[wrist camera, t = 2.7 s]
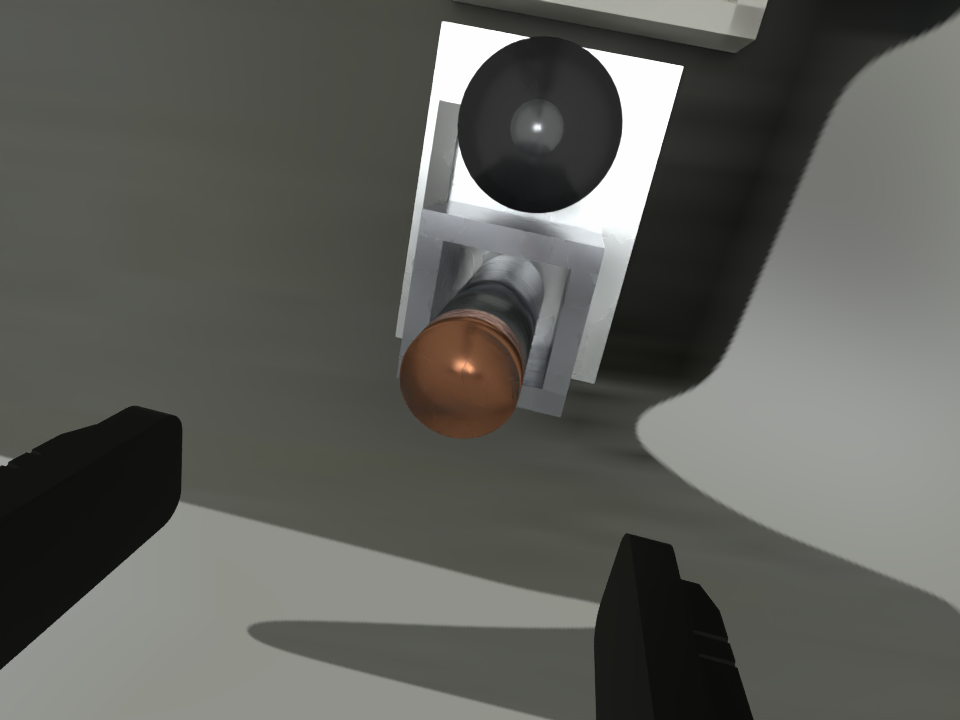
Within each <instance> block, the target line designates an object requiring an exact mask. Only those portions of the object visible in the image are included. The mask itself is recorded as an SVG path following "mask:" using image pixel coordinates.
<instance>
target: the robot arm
mask: <svg viewBox="0 0 960 720" xmlns="http://www.w3.org/2000/svg"><path fill="white" fill-rule="evenodd" d="M181 473H182V424H181V421H180V419H179V418H178V417H177V416H174V415H171V414H167V413H163V412H159V411H155V410H151V409H147V408H143V407H140V406H130V407H128V408H126V409H124V410H122V411H120V412H119V413H117V414H115V415H113V416H111V417H109V418H108V419H106V420H104V421H102V422H100V423H98V424H97V425H96V424H95V425H92V426H88V427H85V428H81V429H78V430H74V431H71V432H67V433H64V434H61V435H59V436H57V437H55V438H53V439H51V440H49V441H47V442H45V443H43V444H42V445H40V446H38V447H36V448H34V449H32V452H31V453H27V452H26V453H25V454H23V455H21V456H19V457H17V458H15V459H13V460H11V461H9V462H8V465H7V466H0V670H1V669H2V668H3V667H4V666H5V665H6V664H7V663H9V662H10V661H11V660H12V659H13V658H14V657H15V656H17V655H18V654H19V653H20V652H21V651H22V650H23V649H25V648H26V647H27V646H28V645H29V644H30V643H31V642H33V641H34V640H35V639H36V638H37V637H38V636H39V635H40V634H42V633H43V632H44V631H45V630H46V629H47V628H48V627H50V625H52V624H53V623H54V622H55V621H56V620H57V619H59V618H60V617H61V616H62V615H63V614H64V613H65V612H67V611H68V610H69V609H70V608H71V607H72V606H73V605H74V604H76V603H77V602H78V601H79V600H80V599H81V598H82V597H84V596H85V595H86V594H87V593H88V592H89V591H90V590H92V589H93V588H94V587H95V586H96V585H97V584H98V583H99V582H101V581H102V580H103V579H104V578H105V577H106V576H107V575H109V574H110V573H111V572H112V571H113V570H114V569H115V568H116V567H118V566H119V565H120V564H121V563H122V562H123V561H124V560H126V559H127V558H128V557H129V556H130V555H131V554H132V553H134V552H135V551H136V550H137V549H138V548H139V547H140V546H142V545H143V544H144V543H145V542H146V541H147V540H148V539H149V538H151V537H152V536H153V535H154V534H155V533H156V532H157V531H159V530H160V529H161V528H162V527H163V526H164V525H165V524H166V523H167V522H168V520H169V519H170V518H171V516H172V515H173V513H174V512H175V509H176V507H177V505H178V502H179V499H180V495H181ZM594 661H595V694H596V720H753V716H752V713H751V710H750V707H749V704H748V700H747V697H746V694H745V691H744V688H743V684H742V681H741V678H740V675H739V671H738V668H737V667H735V659H734V655H733V652H732V649H731V646H730V644H729V643H728V636H727V633H726V630H725V626H724V623H723V620H722V617H721V614H720V611H719V609H718V608H717V607H716V605H715V604H714V603H713V601H712V600H711V599H710V597H709V596H708V595H707V593H706V592H705V591H704V590H703V588H702V587H701V586H700V584H697V583H693V582H689V581H686V580H682V579H681V578H680V574H679V570H678V566H677V562H676V557H675V553H674V550H673V547H672V545H670V544H667V543H663V542H659V541H655V540H651V539H647V538H643V537H639V536H636V535H632V534H628V533H626V534H625V535H624V537H623V538H622V541H621V543H620V546H619V549H618V552H617V555H616V558H615V561H614V564H613V567H612V570H611V573H610V576H609V579H608V582H607V585H606V588H605V591H604V594H603V597H602V600H601V603H600V607H599V611H598V615H597V620H596V626H595V635H594Z"/></svg>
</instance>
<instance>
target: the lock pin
mask: <svg viewBox="0 0 960 720" xmlns="http://www.w3.org/2000/svg"><path fill="white" fill-rule="evenodd" d="M543 299H544V283H543V280H542V277H541V275H540V273H539V271H538V270H537V269H536V268H535V266H534V265H533V264H531V263H530V262H529V261H527V260H526V259H524V258H520V257H515V256H511V255H500V256H496V257H494V258H492V259H490V260H488V261H487V262H485V263H484V264H483V265H482V266H481V267H480V268H479V269H478V270H477V272H476V273H475V274H474V275H473V276H472V277H471V278H470V279H469V280H468V282H467V283H466V284H465V285H464V286H463V287H462V288H461V289H460V290H459V292H458V293H457V294H456V295H455V296H454V297H453V298H452V299H451V300H450V302H449V303H448V304H447V305H446V306H445V307H444V308H443V309H442V310H441V312H440V313H439V314H438V315H437V316H436V317H435V318H434V319H433V320H432V321H431V322H430V323H429V324H428V325H427V326H426V327H425V328H424V329H423V331H422V332H421V333H420V334H419V335H418V336H417V337H416V338H415V339H414V340H413V342H412V343H411V344H410V346H409V347H408V348H407V350H406V352H405V354H404V356H403V359H402V361H401V366H400V373H399V380H400V388H401V392H402V395H403V398H404V400H405V402H406V404H407V406H408V408H409V409H410V411H411V412H412V413H413V414H414V416H415V417H416V418H417V419H418V420H419V421H420V422H421V423H423V424H424V425H425V426H427V427H428V428H430V429H431V430H433V431H435V432H437V433H439V434H442V435H445V436H448V437H453V438H463V439H464V438H475V437H480V436H483V435H486V434H488V433H491V432H493V431H494V430H496V429H497V428H499V427H500V426H501V425H503V424H504V423H505V422H506V421H507V420H508V419H509V417H510V416H511V414H512V413H513V411H514V410H515V407H516V405H517V403H518V400H519V396H520V392H521V388H522V384H523V380H524V376H525V370H526V366H527V362H528V358H529V354H530V350H531V346H532V342H533V338H534V334H535V331H536V327H537V323H538V319H539V315H540V311H541V307H542V303H543Z"/></svg>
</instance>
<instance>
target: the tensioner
mask: <svg viewBox="0 0 960 720" xmlns="http://www.w3.org/2000/svg"><path fill="white" fill-rule="evenodd" d="M683 67H684V66H678V65H673V64H668V63H662V62H657V61H652V60H647V59H641V58H636V57H631V56H625V55H620V54H615V53H609V52H604V51H599V50H594V49H588V48H583V47H581V46H579V45H577V44H575V43H573V42H570V41H568V40H564V39H560V38H556V37H547V36H545V37H531V38H530V37H525V36H519V35H514V34H509V33H503V32H498V31H493V30H487V29H482V28H477V27H472V26H466V25H461V24H456V23H450V22H445V21H442V25H441V31H440V38H439V45H438V52H437V58H436V65H435V72H434V79H433V85H432V92H431V99H430V106H429V112H428V119H427V126H426V133H425V139H424V146H423V153H422V160H421V166H420V173H419V180H418V187H417V193H416V200H415V207H414V214H413V220H412V227H411V234H410V241H409V247H408V254H407V261H406V268H405V274H404V281H403V288H402V295H401V301H400V308H399V315H398V321H397V328H396V335H395V337H399V338H402V342H401V349H400V356H399V362H398V369H397V375H396V378H399V373H400V366H401V361H402V359H403V356H404V354H405V352H406V350H407V348H408V347H409V346H410V344H411V343H412V342H413V340H414V339H415V338H416V337H417V336H418V335H419V334H420V333H421V332H422V331H423V329H424V328H425V327H426V326H427V325H428V324H429V323H430V322H431V321H432V320H433V319H434V318H435V317H436V316H437V315H438V314H439V313H440V312H441V310H442V309H443V308H444V307H445V306H446V305H447V304H448V303H449V302H450V300H451V299H452V298H453V297H454V296H455V295H456V294H457V293H458V292H459V290H460V289H461V288H462V287H463V286H464V285H465V284H466V283H467V282H468V280H469V279H470V278H471V277H472V276H473V275H474V274H475V273H476V272H477V270H478V269H479V268H480V267H481V266H482V265H483V264H484V263H485V262H487V261H488V260H490V259H492V258H494V257H496V256H500V255H511V256H515V257H520V258H524V259H526V260H527V261H529V262H530V263H531V264H533V265H534V266H535V268H536V269H537V270H538V271H539V273H540V275H541V277H542V280H543V283H544V299H543V303H542V307H541V311H540V315H539V319H538V323H537V327H536V331H535V334H534V338H533V342H532V346H531V350H530V354H529V358H528V362H527V366H526V370H525V376H524V380H523V384H522V388H521V392H520V396H519V400H518V403H517V405H516V407H520V408H524V409H528V410H532V411H536V412H540V413H544V414H548V415H552V416H557V417H561V414H562V410H563V407H564V403H565V399H566V395H567V391H568V388H569V384H570V380H571V378H572V379H576V380H580V381H584V382H588V383H593V384H594V383H595V379H596V376H597V372H598V369H599V365H600V362H601V358H602V355H603V351H604V347H605V344H606V340H607V337H608V333H609V330H610V326H611V323H612V319H613V315H614V312H615V308H616V305H617V301H618V298H619V294H620V291H621V287H622V284H623V280H624V276H625V273H626V269H627V266H628V262H629V259H630V255H631V252H632V248H633V244H634V241H635V237H636V234H637V230H638V227H639V223H640V220H641V216H642V212H643V209H644V205H645V202H646V198H647V195H648V191H649V188H650V184H651V181H652V177H653V173H654V170H655V166H656V163H657V159H658V156H659V152H660V149H661V145H662V141H663V138H664V134H665V131H666V127H667V124H668V120H669V117H670V113H671V109H672V106H673V102H674V99H675V95H676V92H677V88H678V85H679V81H680V78H681V74H682V70H683Z"/></svg>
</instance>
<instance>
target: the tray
mask: <svg viewBox="0 0 960 720" xmlns="http://www.w3.org/2000/svg"><path fill="white" fill-rule="evenodd" d="M452 1H456V2H462V3H467V4H472V5H478V6H483V7H488V8H494V9H499V10H505V11H510V12H515V13H521V14H526V15H532V16H537V17H542V18H548V19H553V20H559V21H564V22H569V23H575V24H580V25H586V26H591V27H596V28H602V29H607V30H613V31H618V32H623V33H629V34H634V35H640V36H645V37H650V38H656V39H661V40H667V41H672V42H677V43H683V44H688V45H694V46H699V47H704V48H710V49H715V50H721V51H726V52H731V53H736V52H738V51H739V50H741V49H742V48H744V47H745V46H747V45H748V44H750V43H751V42H753V41H754V40H755V39H756V36H757V33H758V30H759V27H760V23H761V20H762V17H763V14H764V11H765V8H766V4H767V1H768V0H452Z"/></svg>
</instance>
